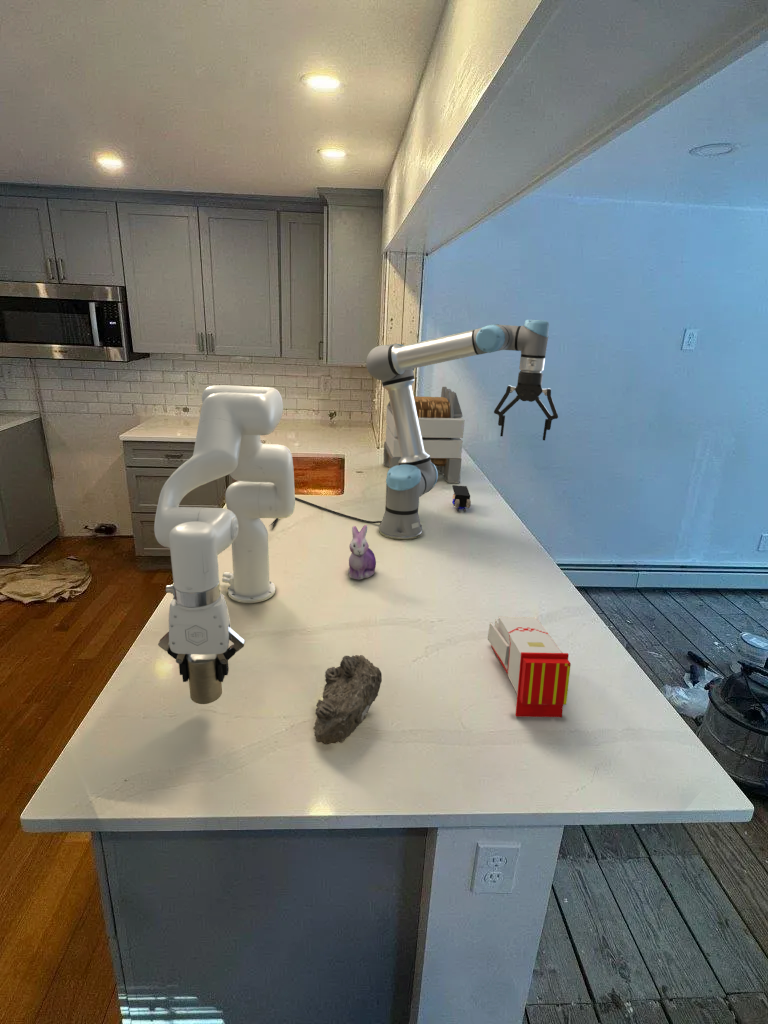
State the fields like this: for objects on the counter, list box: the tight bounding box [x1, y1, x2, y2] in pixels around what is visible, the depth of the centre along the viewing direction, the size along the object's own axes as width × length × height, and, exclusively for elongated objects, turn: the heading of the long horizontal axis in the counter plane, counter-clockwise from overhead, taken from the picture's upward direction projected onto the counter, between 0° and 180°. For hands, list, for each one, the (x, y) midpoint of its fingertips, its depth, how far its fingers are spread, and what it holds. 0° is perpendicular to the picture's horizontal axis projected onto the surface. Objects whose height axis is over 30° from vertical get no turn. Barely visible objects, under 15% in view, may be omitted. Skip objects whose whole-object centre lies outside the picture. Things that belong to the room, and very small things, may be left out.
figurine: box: [347, 524, 377, 580], centre depth 166 cm, size 9×10×15 cm
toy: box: [487, 616, 572, 718], centre depth 123 cm, size 12×13×30 cm
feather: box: [270, 518, 280, 529], centre depth 210 cm, size 2×28×2 cm
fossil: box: [312, 654, 383, 746], centre depth 110 cm, size 22×10×15 cm
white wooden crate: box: [383, 386, 465, 484], centre depth 268 cm, size 34×33×41 cm
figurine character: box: [451, 484, 472, 513], centre depth 228 cm, size 7×8×15 cm
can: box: [186, 654, 223, 705], centre depth 105 cm, size 6×6×9 cm
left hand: (204, 676), depth 105 cm, fingers closed on can, 5 cm apart
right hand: (522, 437), depth 186 cm, fingers open, 13 cm apart
